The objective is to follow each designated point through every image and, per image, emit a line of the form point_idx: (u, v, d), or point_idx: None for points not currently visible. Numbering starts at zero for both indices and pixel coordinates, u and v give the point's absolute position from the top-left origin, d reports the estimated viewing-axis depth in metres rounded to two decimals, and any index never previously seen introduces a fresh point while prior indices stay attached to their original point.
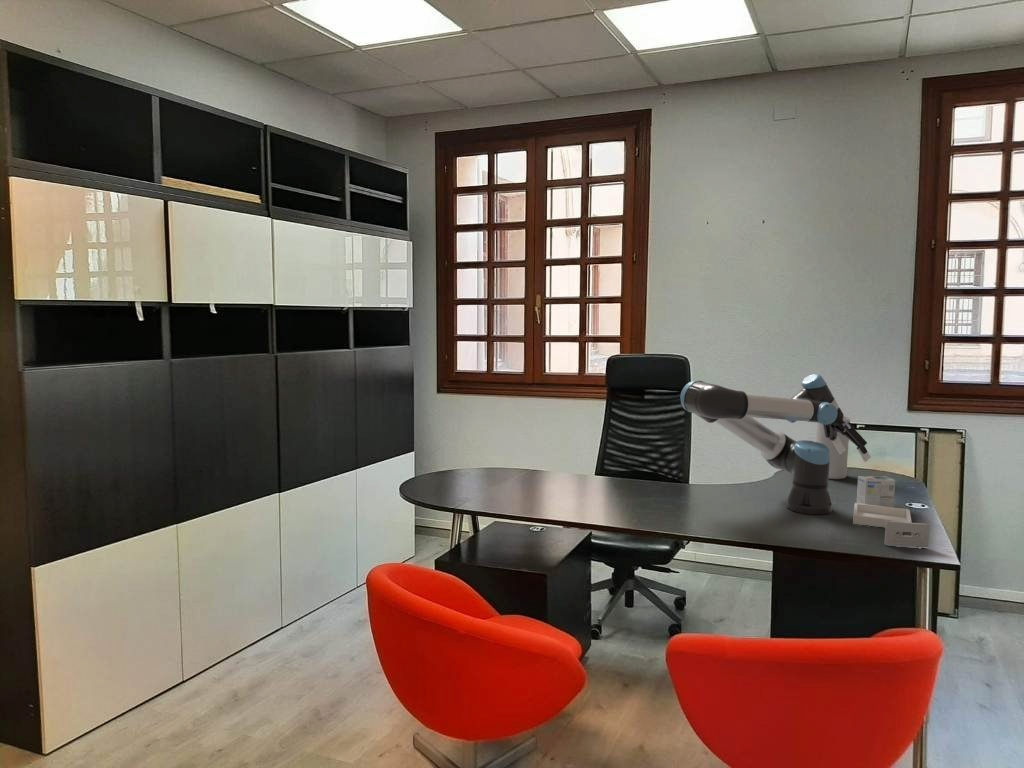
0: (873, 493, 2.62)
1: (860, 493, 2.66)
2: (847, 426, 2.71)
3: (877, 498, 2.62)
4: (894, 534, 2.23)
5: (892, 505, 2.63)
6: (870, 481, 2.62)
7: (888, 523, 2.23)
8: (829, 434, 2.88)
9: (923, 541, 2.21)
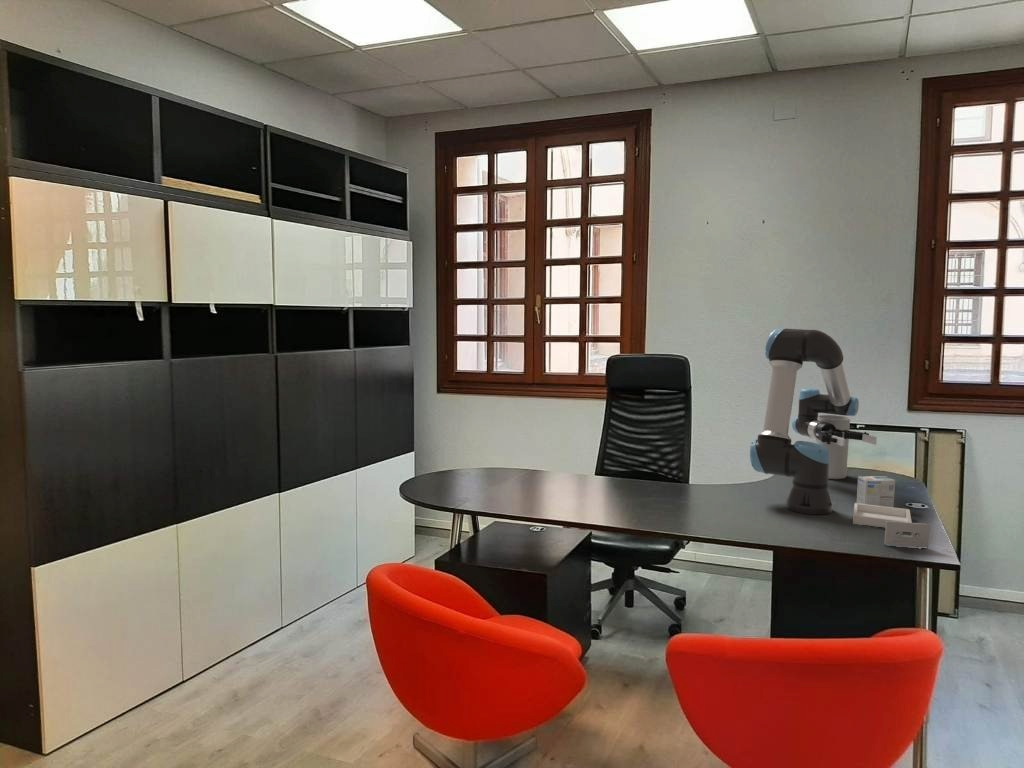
0: (873, 493, 2.62)
1: (860, 493, 2.66)
2: None
3: (877, 498, 2.62)
4: (894, 534, 2.23)
5: (892, 505, 2.63)
6: (870, 481, 2.62)
7: (888, 523, 2.23)
8: None
9: (923, 541, 2.21)
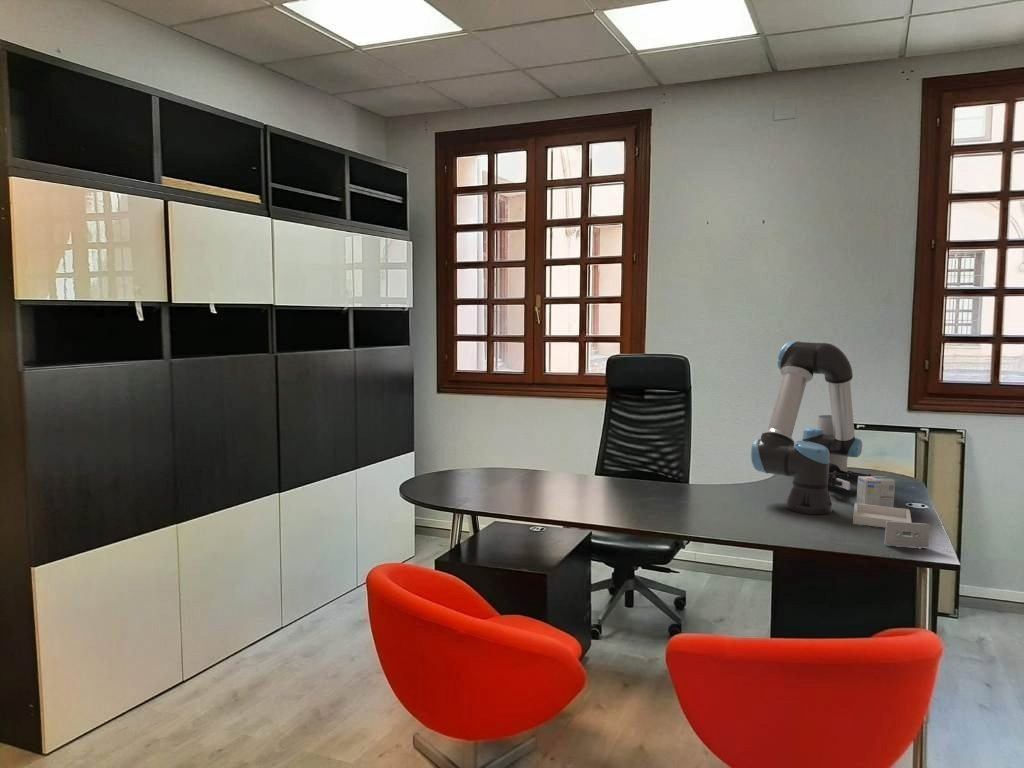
0: (873, 493, 2.62)
1: (860, 493, 2.66)
2: None
3: (877, 498, 2.62)
4: (894, 534, 2.23)
5: (892, 505, 2.63)
6: (870, 481, 2.62)
7: (888, 523, 2.23)
8: None
9: (923, 541, 2.21)
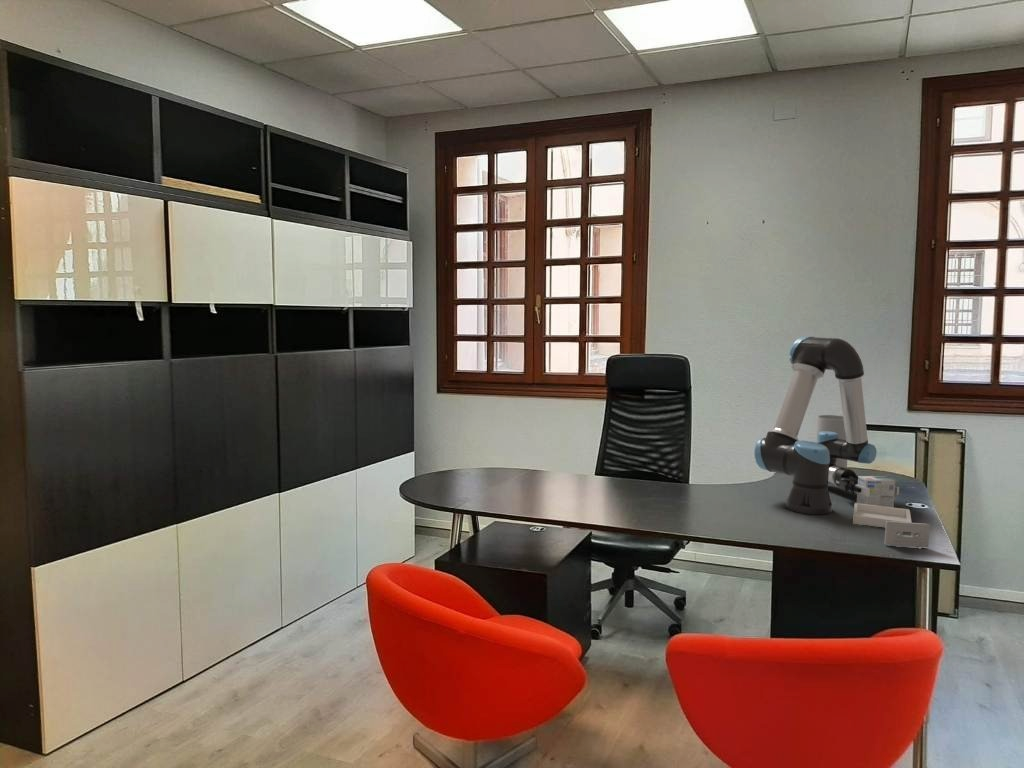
0: (873, 493, 2.62)
1: None
2: None
3: (877, 498, 2.62)
4: (894, 534, 2.23)
5: (892, 505, 2.63)
6: (870, 481, 2.61)
7: (888, 523, 2.23)
8: None
9: (923, 541, 2.21)
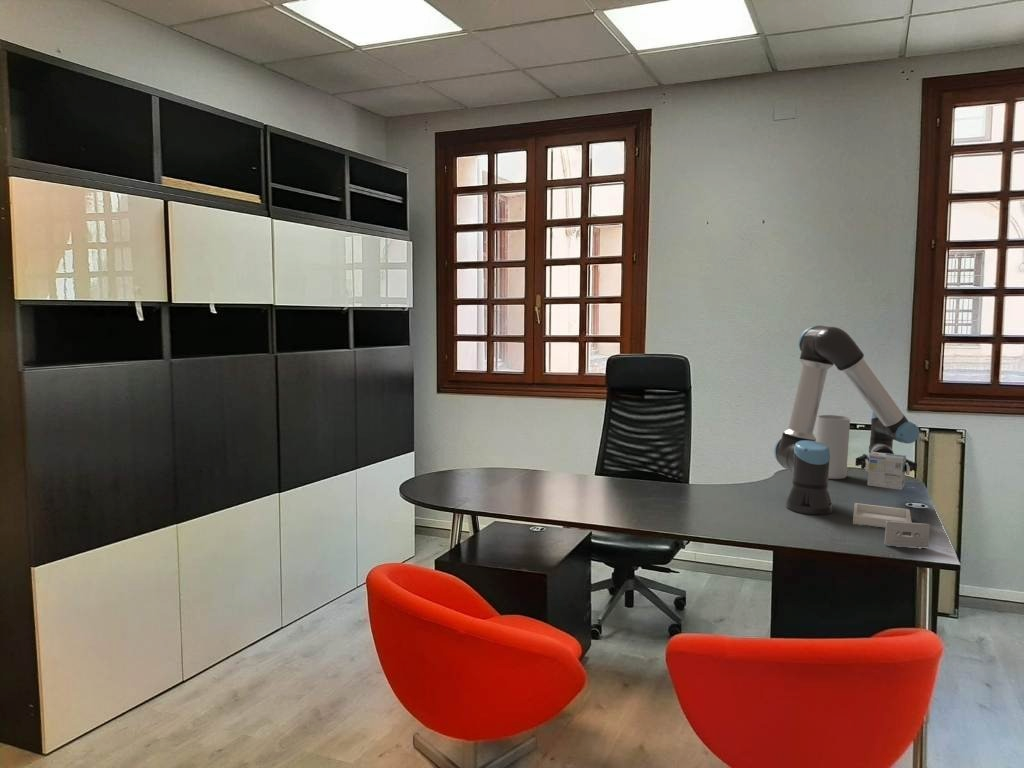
0: (876, 469, 2.49)
1: None
2: None
3: (882, 475, 2.48)
4: (894, 534, 2.23)
5: (900, 485, 2.45)
6: (873, 456, 2.49)
7: (888, 523, 2.23)
8: None
9: (923, 541, 2.21)
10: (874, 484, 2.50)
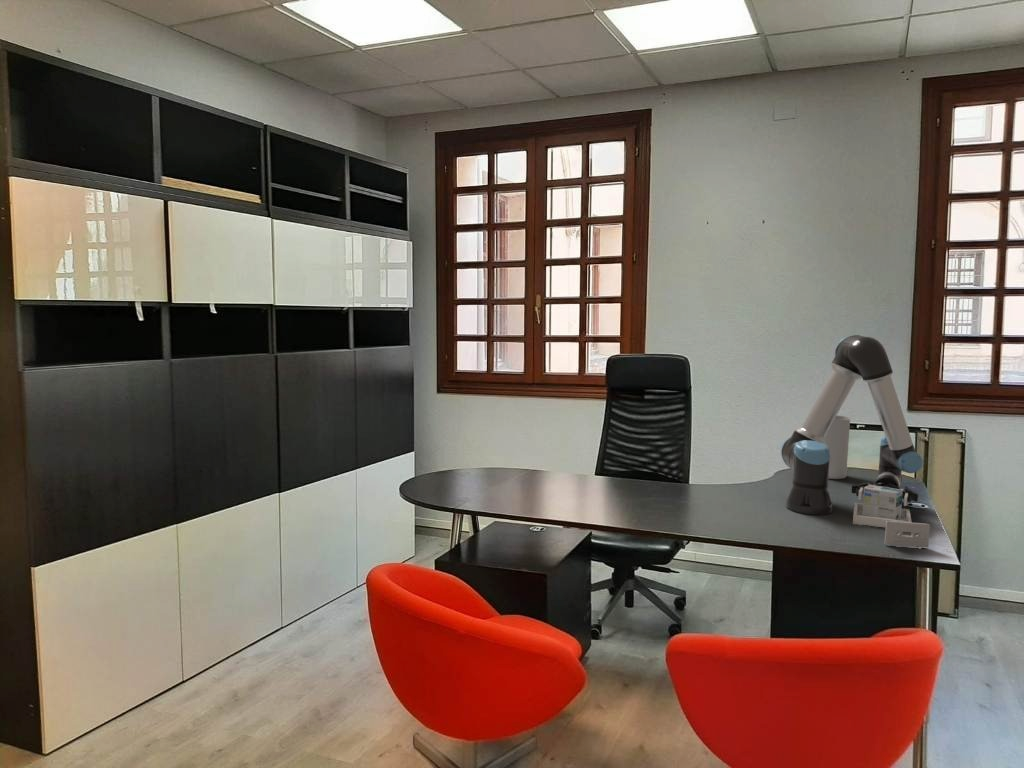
0: (871, 502, 2.48)
1: None
2: None
3: (876, 508, 2.47)
4: (894, 534, 2.23)
5: None
6: (867, 489, 2.48)
7: (888, 523, 2.23)
8: None
9: (923, 541, 2.21)
10: None
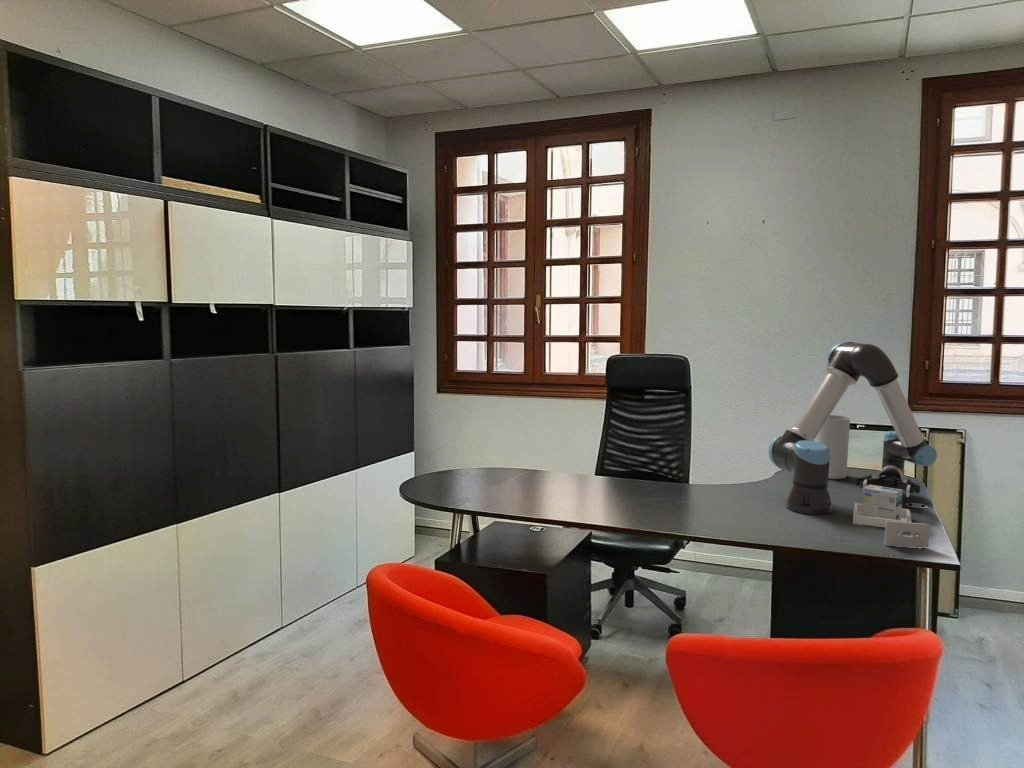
0: (871, 502, 2.48)
1: None
2: None
3: (876, 508, 2.47)
4: (894, 534, 2.23)
5: None
6: (867, 489, 2.48)
7: (888, 523, 2.23)
8: None
9: (923, 541, 2.21)
10: None
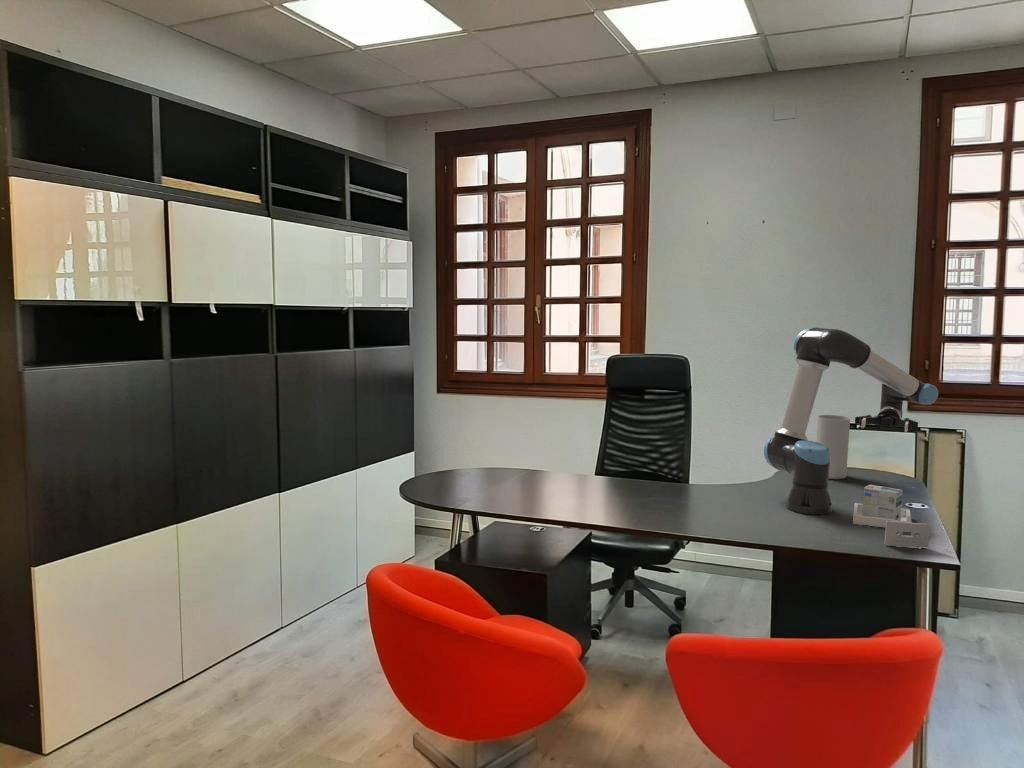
0: (871, 502, 2.48)
1: None
2: None
3: (876, 508, 2.47)
4: (894, 534, 2.23)
5: None
6: (867, 489, 2.48)
7: (888, 523, 2.23)
8: (858, 420, 2.71)
9: (923, 541, 2.21)
10: None
